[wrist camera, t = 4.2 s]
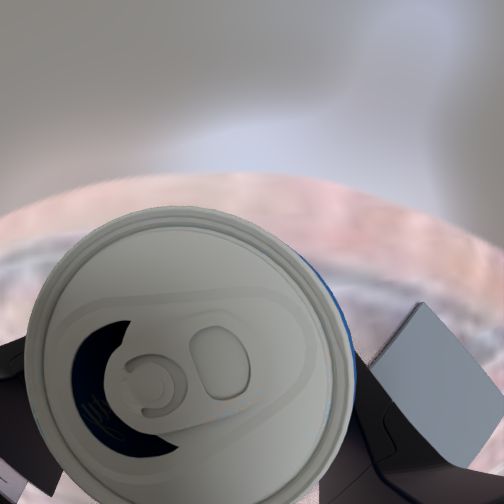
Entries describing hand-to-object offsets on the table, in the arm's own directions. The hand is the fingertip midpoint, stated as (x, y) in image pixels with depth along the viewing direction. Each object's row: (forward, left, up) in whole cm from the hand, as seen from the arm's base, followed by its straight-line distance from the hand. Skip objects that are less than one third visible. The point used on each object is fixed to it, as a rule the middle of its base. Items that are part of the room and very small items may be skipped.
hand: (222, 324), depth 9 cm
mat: (-13, -3, -8) cm, 15 cm away
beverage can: (-1, +1, -7) cm, 7 cm away
